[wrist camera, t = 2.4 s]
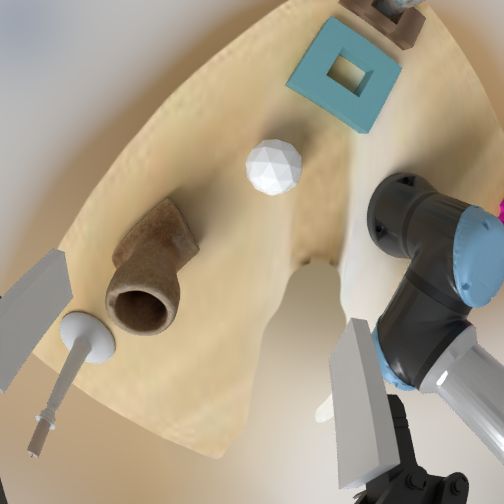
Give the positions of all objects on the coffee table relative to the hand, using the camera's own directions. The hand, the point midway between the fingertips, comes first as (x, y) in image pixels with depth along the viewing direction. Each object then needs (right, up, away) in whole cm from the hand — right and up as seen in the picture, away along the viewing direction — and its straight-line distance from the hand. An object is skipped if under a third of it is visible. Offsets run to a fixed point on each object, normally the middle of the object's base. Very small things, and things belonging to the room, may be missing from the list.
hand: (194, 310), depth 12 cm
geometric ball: (+5, +15, +30) cm, 35 cm away
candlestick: (-31, -15, +39) cm, 52 cm away
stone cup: (-12, +3, +34) cm, 36 cm away
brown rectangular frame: (+25, +44, +21) cm, 55 cm away
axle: (+25, +44, +21) cm, 55 cm away
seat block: (+17, +30, +26) cm, 43 cm away
